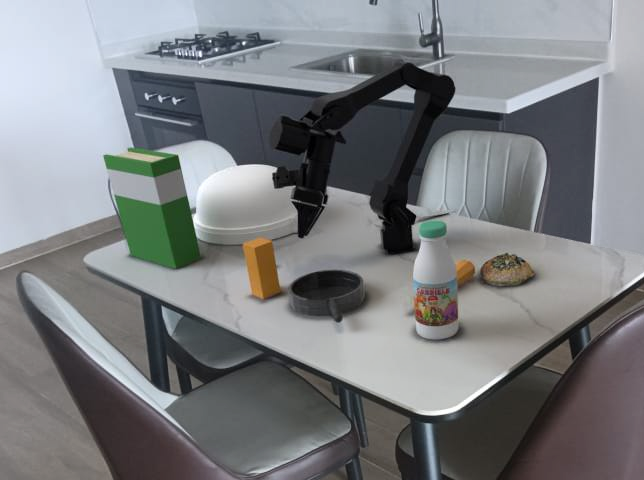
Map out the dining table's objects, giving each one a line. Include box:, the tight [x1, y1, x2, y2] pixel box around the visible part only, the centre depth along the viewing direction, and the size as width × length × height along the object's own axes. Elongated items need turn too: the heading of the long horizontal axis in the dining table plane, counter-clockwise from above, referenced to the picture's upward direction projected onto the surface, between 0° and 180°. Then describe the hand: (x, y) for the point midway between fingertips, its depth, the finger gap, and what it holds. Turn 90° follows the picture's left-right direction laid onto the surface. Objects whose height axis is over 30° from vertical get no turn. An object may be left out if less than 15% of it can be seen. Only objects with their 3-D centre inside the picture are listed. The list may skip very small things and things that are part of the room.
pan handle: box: [328, 299, 344, 324], centre depth 137 cm, size 9×2×2 cm, turn 13°
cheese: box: [242, 237, 281, 300], centre depth 149 cm, size 4×4×12 cm
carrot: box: [413, 259, 476, 311], centre depth 146 cm, size 20×4×4 cm, turn 142°
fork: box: [374, 208, 458, 229], centre depth 184 cm, size 3×24×2 cm, turn 122°
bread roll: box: [480, 252, 535, 287], centre depth 150 cm, size 11×11×5 cm
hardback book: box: [102, 147, 202, 270], centre depth 170 cm, size 18×7×24 cm, turn 52°
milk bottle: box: [412, 220, 459, 340], centre depth 128 cm, size 8×8×20 cm
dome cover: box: [192, 163, 298, 246], centre depth 189 cm, size 32×30×14 cm
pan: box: [288, 269, 366, 317], centre depth 146 cm, size 15×15×4 cm
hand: (302, 236), depth 155 cm, fingers open, 9 cm apart
